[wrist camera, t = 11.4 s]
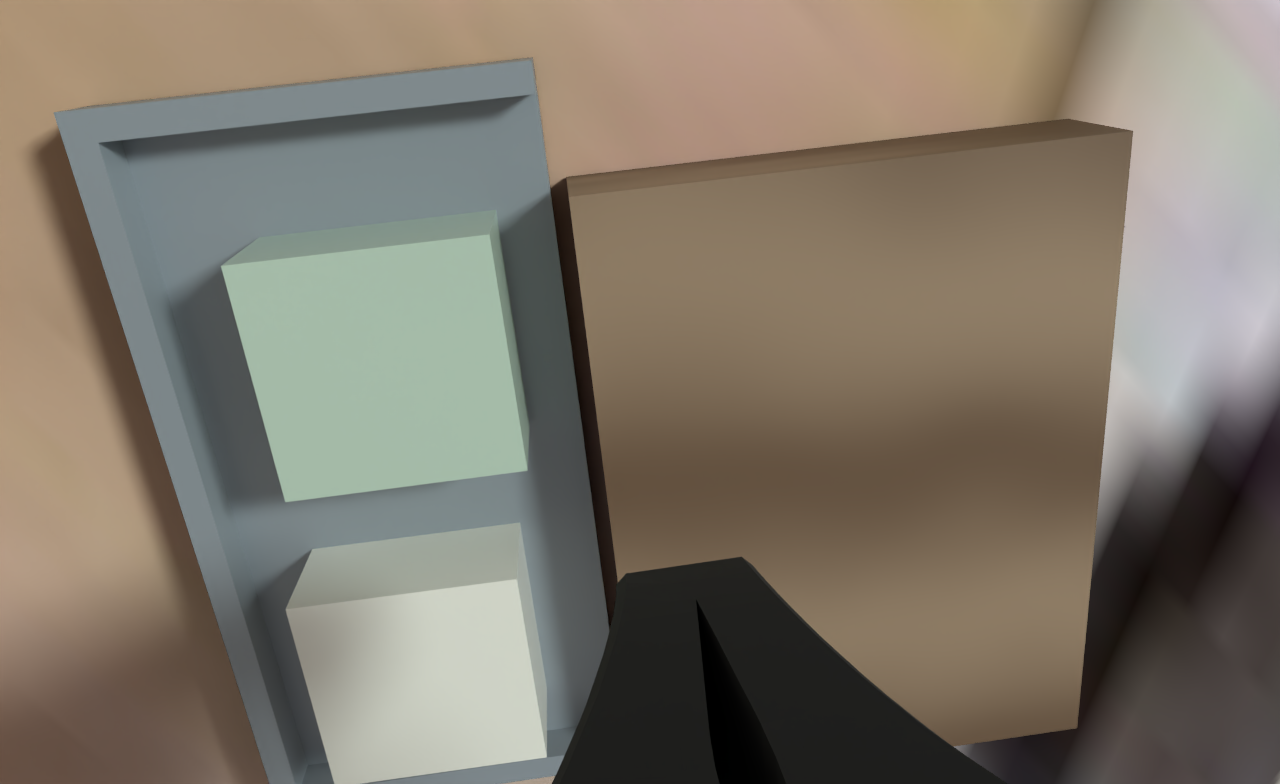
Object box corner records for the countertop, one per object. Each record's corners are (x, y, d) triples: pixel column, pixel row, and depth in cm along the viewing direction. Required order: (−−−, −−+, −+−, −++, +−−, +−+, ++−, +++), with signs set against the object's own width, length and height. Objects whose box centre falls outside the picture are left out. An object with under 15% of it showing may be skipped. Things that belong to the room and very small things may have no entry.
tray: (622, 725, 21) (627, 764, 20) (294, 772, 20) (279, 815, 19) (532, 57, 16) (531, 60, 14) (89, 106, 15) (53, 112, 14)
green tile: (529, 423, 18) (527, 471, 16) (313, 451, 17) (285, 502, 15) (495, 210, 16) (489, 234, 14) (259, 237, 16) (220, 266, 14)
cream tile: (546, 688, 20) (546, 757, 18) (355, 715, 20) (335, 787, 18) (520, 522, 18) (516, 578, 16) (312, 549, 18) (285, 609, 16)
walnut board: (1030, 666, 21) (1076, 728, 19) (635, 723, 21) (644, 791, 19) (1068, 119, 17) (1132, 130, 15) (566, 177, 16) (568, 196, 14)
